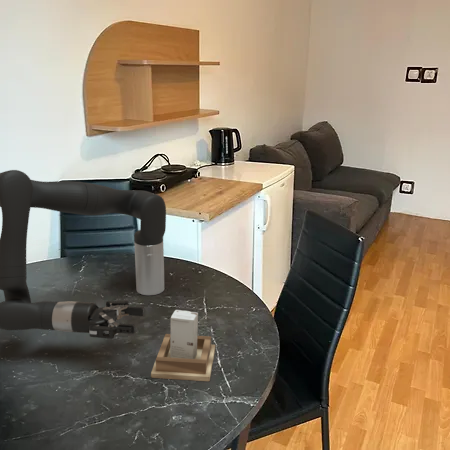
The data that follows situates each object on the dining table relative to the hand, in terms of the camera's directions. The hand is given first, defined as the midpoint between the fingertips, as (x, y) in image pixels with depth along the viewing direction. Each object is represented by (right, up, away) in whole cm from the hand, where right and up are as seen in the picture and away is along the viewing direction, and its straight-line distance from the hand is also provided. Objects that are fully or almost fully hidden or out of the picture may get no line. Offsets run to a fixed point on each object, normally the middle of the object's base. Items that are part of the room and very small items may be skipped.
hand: (139, 320), depth 118 cm
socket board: (+11, -11, +2) cm, 16 cm away
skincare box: (+11, -10, +2) cm, 15 cm away
